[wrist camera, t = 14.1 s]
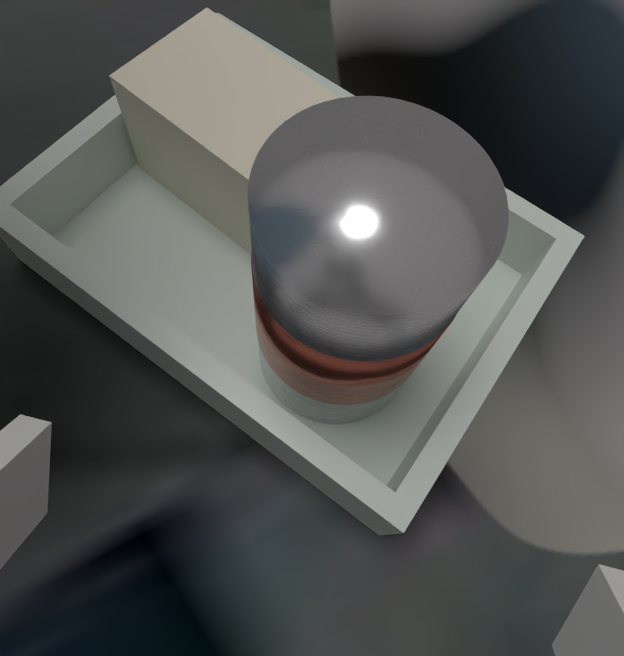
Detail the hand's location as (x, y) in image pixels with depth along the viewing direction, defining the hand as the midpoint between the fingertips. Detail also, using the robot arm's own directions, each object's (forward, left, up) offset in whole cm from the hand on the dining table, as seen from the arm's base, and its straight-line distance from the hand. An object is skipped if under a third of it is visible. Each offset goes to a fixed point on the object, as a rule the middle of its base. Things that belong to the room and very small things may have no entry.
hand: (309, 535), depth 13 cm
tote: (-8, +10, -11) cm, 17 cm away
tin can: (-3, +8, -10) cm, 13 cm away
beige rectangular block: (-14, +13, -10) cm, 21 cm away
